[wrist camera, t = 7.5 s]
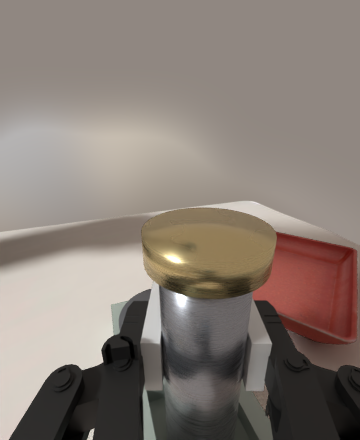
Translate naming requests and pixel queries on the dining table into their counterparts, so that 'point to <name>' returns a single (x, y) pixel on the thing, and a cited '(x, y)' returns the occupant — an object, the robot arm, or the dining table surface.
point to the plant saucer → (313, 289)
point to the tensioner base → (155, 399)
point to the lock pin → (205, 311)
